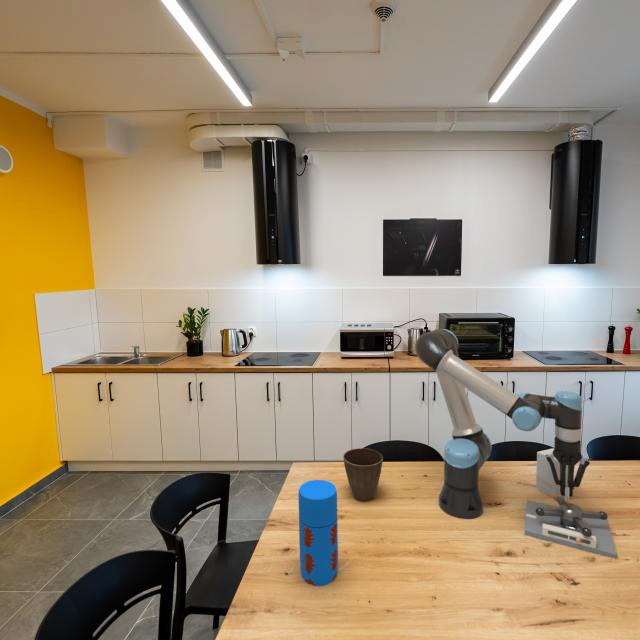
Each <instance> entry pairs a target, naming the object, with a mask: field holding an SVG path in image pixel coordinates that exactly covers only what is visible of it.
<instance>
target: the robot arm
mask: <svg viewBox="0 0 640 640" xmlns="http://www.w3.org/2000/svg"><path fill="white" fill-rule="evenodd" d="M414 349H415V350H414V351H415V353H416V356H417V358H418V359H419V360H420V361H421V362H422V363H423V364H424V365H426V366H427V367H428V368H430V369H432V370H433V371H435V373H436V375H437V376H436V377H437V379H438V381H439V385H440V389H441V391H442V395H443V398H444V400H445V405H446V407H447V411H448V413H449V417H450V421H451V423H452V427H453V430H452V431H451V435H452V439H450V440H449V441H447V442H446V444H445V447H444V452H443V457H444V458H443V459H444V460H443V461H444V464H443V465H444V468H443V471H444V472H443V473H444V474H443V479H444V481H443V484H442V485H443V486H442V487H441V490H440V493H439V495H438V506H439V507H440V509H441V510H442V511H444V512H445V513H446V514H448V515H450V516H453V517H455V518H459V519H474V518H477V517H480V516H481V515H482V514H483V512H484V511H483V509H484V504H483V499H482V496H481V494H480V490H479V471H480V470H481V468H482V467H483V465H484V464H485V462H487V460H488V459H489V458H490V456H491V453H492V442H491V439H490V437H489V436H488V435H487V434H486V433H485V432H484V429H483V427H482V426H481V425H480V424H478V423H477V422H476V419H475V418H476V417H475V416H474V415H475V414H474V412H473V409H472V406H471V403H470V400H469V397H468V394H467V393H468V392H467V391H466V389H467V390H468V391H469V392H471V393H473V394H474V395H476V396H477V397H478V398H480V399H481V400H483V401H484V402H486V403H487V404H489V405H490V406H492V407H493V408H495V409H497V410H498V411H499V412H501V413H502V414H504V415H506V416H507V417H509V419H511V420H512V423H513V425H514V426H515V427H516V428H517V429H518V430H520V431H522V432H532V431H534V430H536V428H538V426H539V425H540V424H541V422H542V419H549V420H554V436H555V437H554V445H553V447H554V450H553V453H552V454H550V455H546V456H545V457H546V459H547V461H548V462H549V464H550V467H551V471H552V475H553V478H554V481H555V483H556V485H560V493H561V495H562V496H563V497H562V498H563V499H564V500H565V501H568V502H569V503H570V497H573V494H574V493H573V492H574V489H575V488H579V487H581V483H582V481H583V477H584V474H585V471H586V469H587V468H588V466H589V465H590V464H591V463H590V461H589V460H588V458H586V457H584V456H583V454H582V453H581V450H582V448H581V447H582V446H581V445H582V441H581V440H582V417H583V416H582V415H583V405H582V403H583V399H582V396H581V395H580V394H579V393H577V392H574V391H573V392H572V391H567V390H565V391H563V390H561V391H556V392H555V396H548V395H539V394H533V393H529V392H527V393H526V392H525V393H524V392H519V393H518V394H516V393H514V392H512V391H511V390H510V389H509V388H507V387H505V386H503V385H502V384H500V383H498V382H497V381H495V380H494V379H493V378H491V377H489V376H488V375H486V374H484V373H483V372H482V371H480V370H478V369H477V368H475V367H473V366H472V365H470V364H469V363H467V362H466V361H464V360H463V359H461V358H460V355H459V352H458V349H459V340H458V338H457V336H456V335H455V334H454V332H452V331H451V330H449V329H445V328H439V329H434V330H430V331H427V332H424V333H422V334H420V336H419V337H418V338H417V339H416V342H415V345H414ZM554 457H555V458H556V459H557V460H558V462H559V463H560V480H559V479H558V476H557V472H556V469H555V465H554V463H553V461H554ZM578 463H579V465H578V467H577V470H576V473H575V468H576V467H575V466H576V465H577V464H578ZM566 465H568V480H567V484H568V485H566Z"/></svg>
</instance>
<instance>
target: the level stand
mask: <svg viewBox="0 0 640 640" xmlns="http://www.w3.org/2000/svg"><path fill="white" fill-rule="evenodd" d="M538 507H540V508H546V509H560V508H561V506H557V505H552V504H547V503H544V502H540V501H535V500H530V499H526V503H525V518H524V519H525V520H524V536H528V537H532V538H536V539H538V540H539V539H540V540H541V541H542V540H543V541H546V542H550V543H554V544H558V545H562V546H565V547H568V548H569V547H570V548H573V549H577V550H581V551H584V552H587V551H588V552H587V553H591V552H592V554H595V553H596V555H598V554H600V555H599V556H602V555H603V557H606V556H607V557H606V558H610V557H611V558H610V559H613V558H615V560H617V556H618V555H617V550H616V547H615V544H614V543H615V542H614V540H613V536H612V532H611V530H610V524H609V522H608V518H607V519H606V520H602V519H591V518H582V519H583V520H585V521H586V522H587V523H588V524H589V529H590V530H591V532H592V535H591V537H585V536H584V535H583V534H582V533H580V532H576V531H572V530H568V529H565V528H563V527H562V526H561V525H560V517H557V516H538V515H537V514H536V508H538Z"/></svg>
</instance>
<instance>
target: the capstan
mask: <svg viewBox="0 0 640 640" xmlns="http://www.w3.org/2000/svg"><path fill="white" fill-rule="evenodd" d="M552 498H553V500H554V501H556V503H557V504H558V505H559V507H561V508H560V509H546V508H540V507H538V508H536V514H537V515H538V516H557V517H560V525H561V526H562V527H563V528H565V529H568V530H572V531H576V532H580V533H582V534H583V535H584V536H585V537H591V535H592V532H591V530H590V529H589V524H588V523H587V522H586V521H585V520H583V519H582V518H591V519H602V520H606V519H607V520H608V516H609V515H608V513H607V512H605V511H604V510H598V511H597V510H596V511H595V510H583V508H582V507H580V506H579V505H577V504H575V503H572V502H570V501H569V502H568V501H565V500H564V499H563V497H562V496H561V495H560V494H558V493H556V494H554V495H553V497H552Z"/></svg>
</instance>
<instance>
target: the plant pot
mask: <svg viewBox="0 0 640 640" xmlns="http://www.w3.org/2000/svg"><path fill="white" fill-rule="evenodd" d="M342 457H343V464H344V465H343V466H344V469H345V473H346V477H347V481H348V485H349V487H350V490H351V493H352V496H353V497H354V499H355V500H357V501H359V502H369V501H371V500H372V499H373V498H374V496H375V494H376V491H377V488H378V485H379V481H380V477H381V473H382V467H383V460H384V457H383V454H382V453H380V452H379V451H377V450H375V449H371V448H365V447H364V448H362V447H361V448H353V449H349V450H348V451H346V452H345V453H343V456H342Z"/></svg>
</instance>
